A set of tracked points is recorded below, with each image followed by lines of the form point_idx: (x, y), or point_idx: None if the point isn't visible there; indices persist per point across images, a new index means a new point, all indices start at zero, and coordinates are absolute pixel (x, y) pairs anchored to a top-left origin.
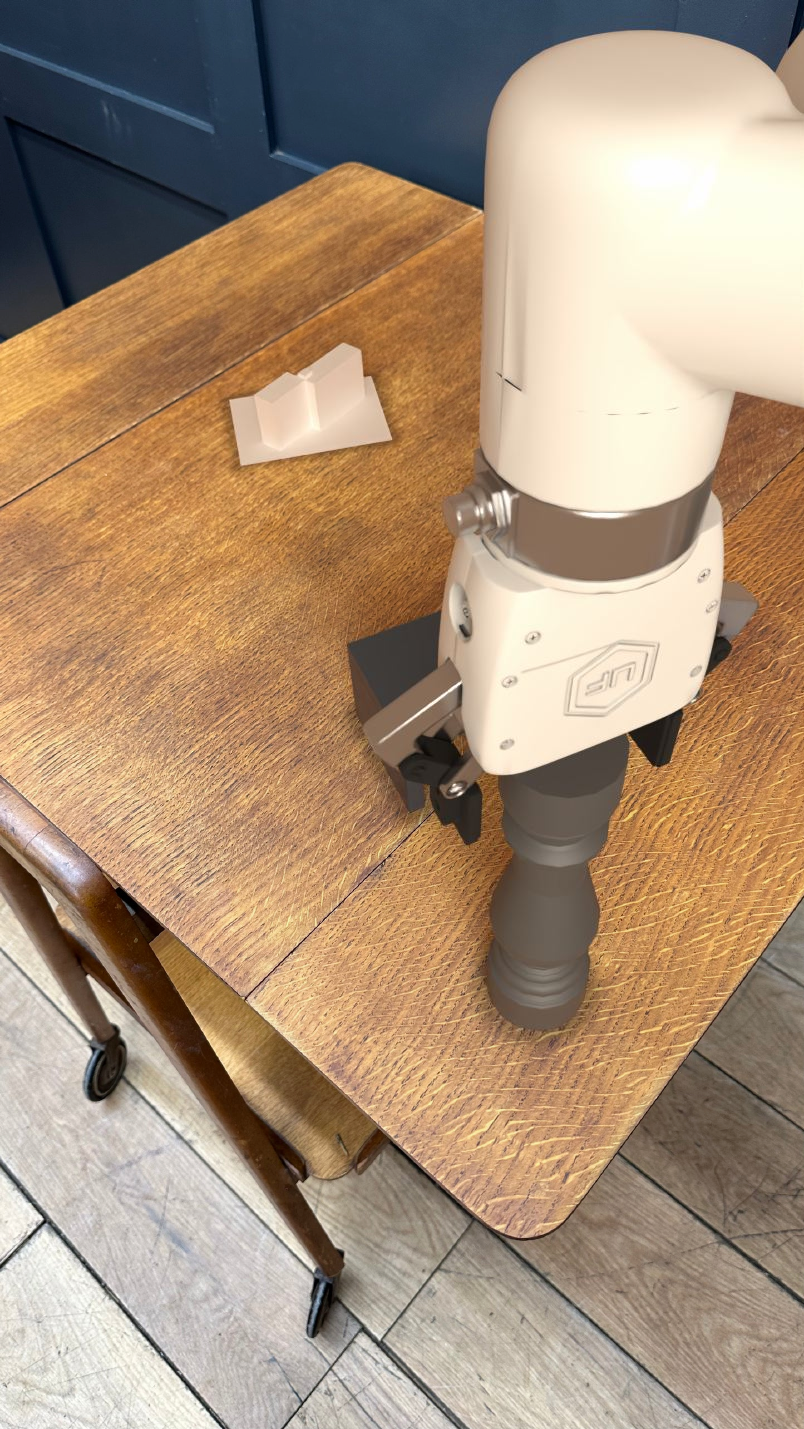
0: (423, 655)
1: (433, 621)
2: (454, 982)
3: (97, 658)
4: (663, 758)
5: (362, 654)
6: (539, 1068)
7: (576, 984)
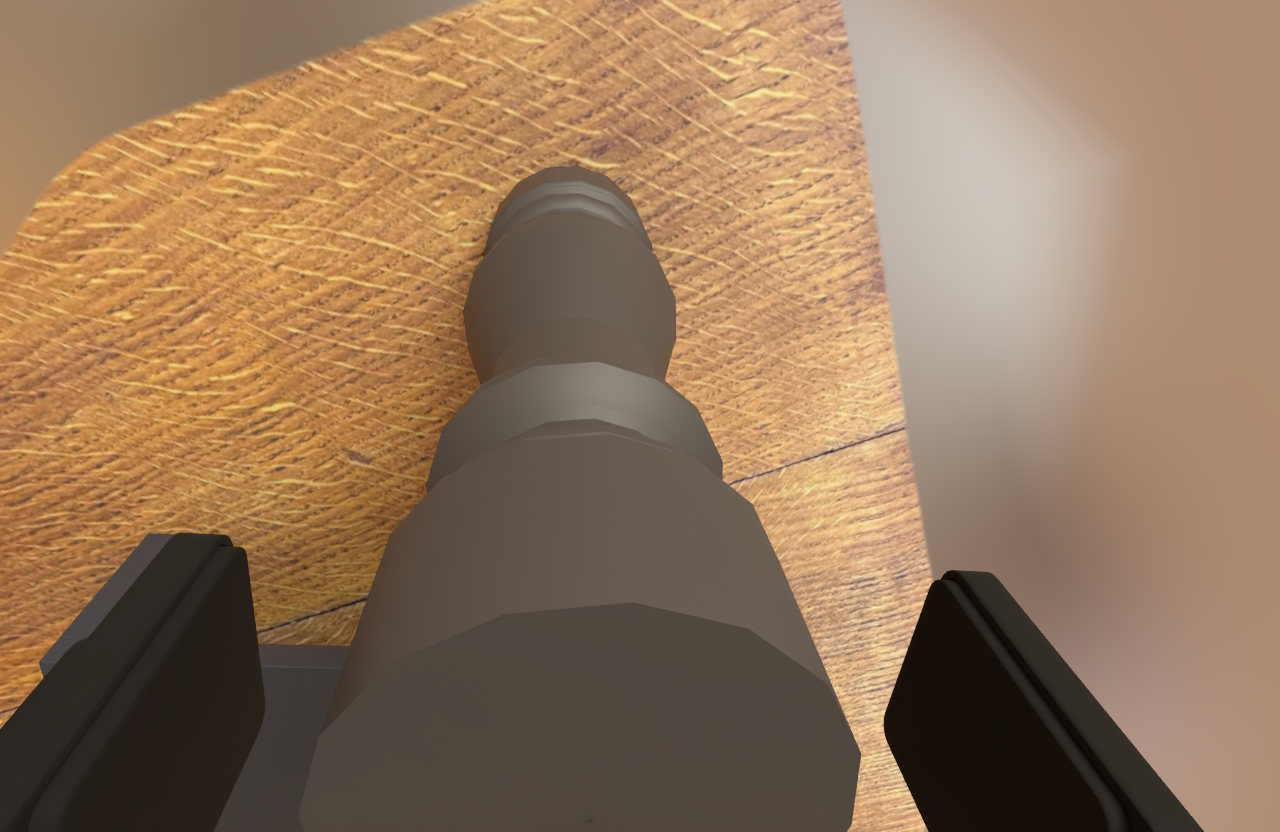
0: None
1: None
2: None
3: None
4: (189, 569)
5: None
6: (641, 125)
7: (540, 197)
